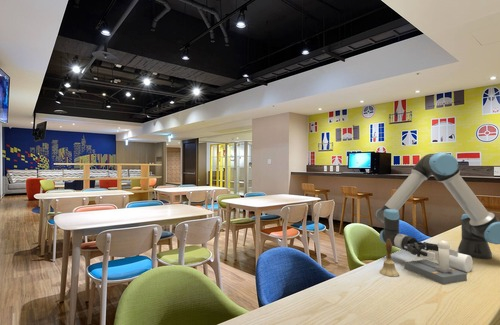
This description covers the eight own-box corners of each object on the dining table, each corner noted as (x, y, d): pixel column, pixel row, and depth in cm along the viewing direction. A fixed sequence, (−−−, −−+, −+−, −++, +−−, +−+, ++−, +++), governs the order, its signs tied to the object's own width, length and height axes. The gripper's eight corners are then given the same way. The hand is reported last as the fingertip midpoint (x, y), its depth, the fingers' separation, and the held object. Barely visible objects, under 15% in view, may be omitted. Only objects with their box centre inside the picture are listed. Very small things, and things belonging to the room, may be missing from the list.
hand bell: (375, 271, 135) (375, 237, 135) (388, 269, 138) (388, 236, 138) (390, 277, 127) (389, 242, 127) (403, 275, 130) (403, 240, 131)
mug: (464, 274, 132) (464, 256, 132) (441, 267, 141) (441, 251, 141) (477, 269, 138) (476, 253, 138) (454, 263, 147) (454, 247, 147)
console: (425, 265, 143) (425, 259, 143) (466, 280, 124) (466, 273, 124) (404, 268, 139) (404, 261, 139) (442, 284, 120) (442, 277, 120)
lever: (443, 268, 130) (442, 238, 130) (453, 271, 126) (452, 241, 126) (434, 269, 128) (434, 239, 129) (444, 273, 124) (444, 242, 124)
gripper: (424, 248, 150) (466, 260, 130) (387, 252, 142) (425, 266, 122) (424, 233, 150) (466, 244, 130) (386, 237, 142) (424, 249, 122)
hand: (446, 255), depth 126 cm, fingers open, 13 cm apart
